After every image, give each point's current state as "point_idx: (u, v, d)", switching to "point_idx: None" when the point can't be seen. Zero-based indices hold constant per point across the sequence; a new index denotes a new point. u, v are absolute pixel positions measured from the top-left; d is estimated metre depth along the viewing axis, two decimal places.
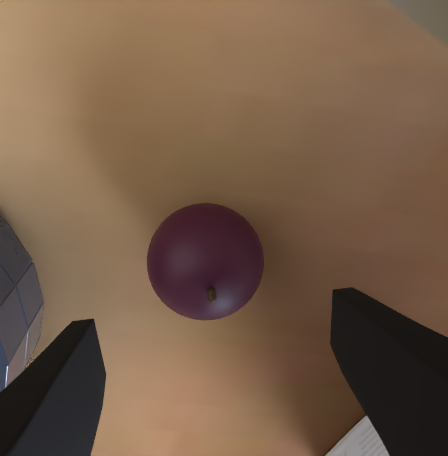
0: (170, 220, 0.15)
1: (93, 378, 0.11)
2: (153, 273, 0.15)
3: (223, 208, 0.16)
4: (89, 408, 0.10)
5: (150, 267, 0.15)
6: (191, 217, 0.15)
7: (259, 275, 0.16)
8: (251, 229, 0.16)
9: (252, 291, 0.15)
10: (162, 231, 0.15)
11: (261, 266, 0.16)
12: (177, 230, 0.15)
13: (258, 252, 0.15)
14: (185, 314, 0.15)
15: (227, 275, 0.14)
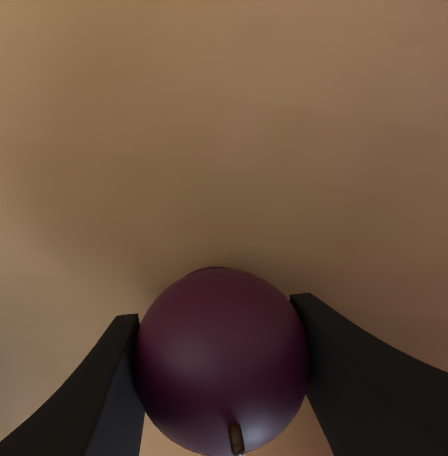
0: (168, 303, 0.10)
1: None
2: (141, 389, 0.10)
3: (250, 281, 0.10)
4: (138, 401, 0.10)
5: (136, 377, 0.10)
6: (200, 302, 0.09)
7: (306, 387, 0.10)
8: (293, 314, 0.10)
9: (296, 413, 0.10)
10: (155, 322, 0.10)
11: (309, 372, 0.10)
12: (180, 324, 0.09)
13: (305, 352, 0.10)
14: None
15: (262, 404, 0.09)
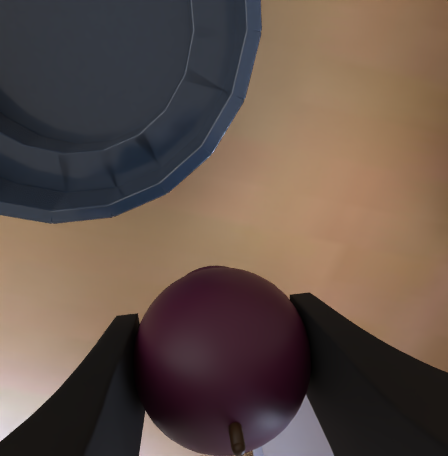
0: (168, 302, 0.10)
1: None
2: (141, 388, 0.10)
3: (251, 280, 0.10)
4: (138, 401, 0.10)
5: (137, 376, 0.10)
6: (201, 301, 0.09)
7: (307, 386, 0.10)
8: (294, 313, 0.10)
9: (296, 412, 0.10)
10: (155, 320, 0.10)
11: (310, 371, 0.10)
12: (180, 323, 0.09)
13: (306, 351, 0.10)
14: None
15: (262, 403, 0.09)
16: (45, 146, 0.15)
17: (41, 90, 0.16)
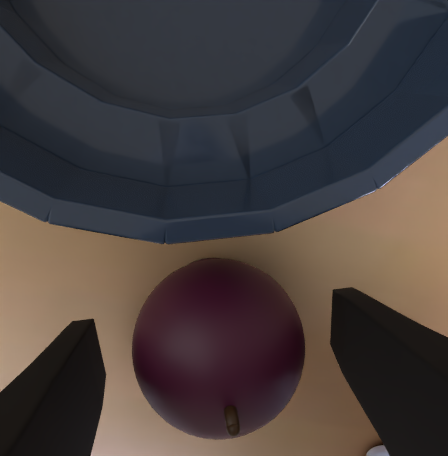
0: (166, 291, 0.10)
1: (93, 377, 0.11)
2: (140, 374, 0.10)
3: (246, 270, 0.10)
4: (89, 408, 0.10)
5: (136, 363, 0.10)
6: (198, 290, 0.10)
7: (300, 373, 0.10)
8: (288, 302, 0.10)
9: (290, 397, 0.10)
10: (154, 309, 0.10)
11: (303, 358, 0.10)
12: (178, 310, 0.09)
13: (299, 339, 0.10)
14: None
15: (256, 386, 0.09)
16: (133, 107, 0.09)
17: (120, 17, 0.10)
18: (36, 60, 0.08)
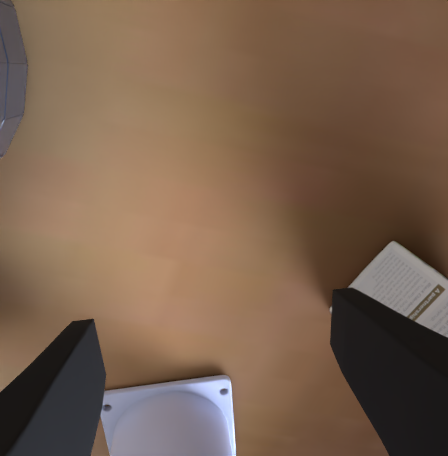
0: None
1: (93, 378, 0.11)
2: None
3: None
4: (89, 408, 0.10)
5: None
6: None
7: None
8: None
9: None
10: None
11: None
12: None
13: None
14: None
15: None
16: None
17: None
18: None
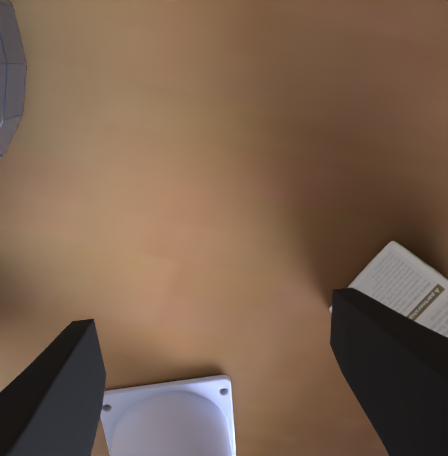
0: None
1: (93, 377, 0.11)
2: None
3: None
4: (89, 408, 0.10)
5: None
6: None
7: None
8: None
9: None
10: None
11: None
12: None
13: None
14: None
15: None
16: None
17: None
18: None
